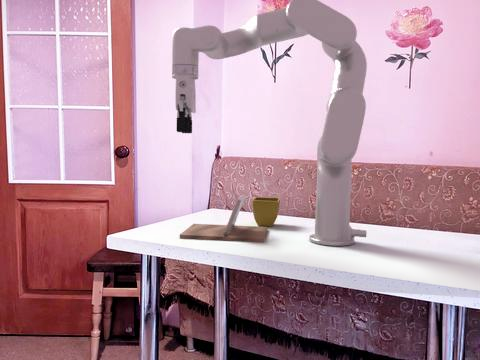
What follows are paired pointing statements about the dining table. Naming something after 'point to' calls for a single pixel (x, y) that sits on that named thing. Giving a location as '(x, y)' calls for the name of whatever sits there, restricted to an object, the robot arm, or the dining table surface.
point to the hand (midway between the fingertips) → (184, 132)
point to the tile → (235, 213)
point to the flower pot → (265, 210)
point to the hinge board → (225, 233)
